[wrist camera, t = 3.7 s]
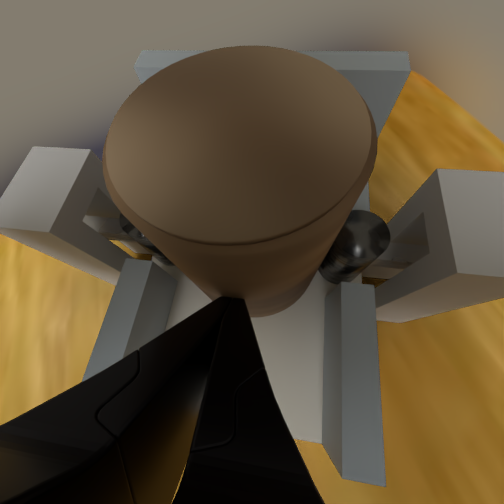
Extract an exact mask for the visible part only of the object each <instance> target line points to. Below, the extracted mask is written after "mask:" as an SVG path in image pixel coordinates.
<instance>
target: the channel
mask: <svg viewBox="0 0 504 504" xmlns="http://www.w3.org/2000/svg"><path fill="white" fill-rule="evenodd" d="M202 52H206V51H162V50H158V51H156V50H155V51H154V50H152V51H151V50H148V51H147V50H142V52H141V54H140V56H139V58H138V59H137V61H136V64H135V65H134V69H135V71H136V73H137V76H138V78H139V80H140V82H141V84H142V83H143V82H145V81H146V80H147V79H148V78H150V77H151V76H153V75H154V74H156V73H157V72H159V71H160V70H162V69H164V68H166V67H167V66H169V65H171V64H173V63H175V62H178V61H180V60H182V59H184V58H187V57H190V56H193V55H196V54H199V53H202ZM296 52H299V53H302V54H305V55H308V56H311V57H313V58H315V59H318V60H320V61H322V62H324V63H325V64H327V65H329V66H330V67H332V68H334V69H335V70H336V71H338V72H339V73H340V74H342V75H343V76H344V77H345V78H346V79H347V80H348V81H349V82H350V83H351V84H352V85H353V86H354V88H355V89H356V90H357V91H358V92H359V94H360V95H361V96H362V98H363V99H364V100H365V102H366V104H367V106H368V108H369V109H370V111H371V113H372V116H373V119H374V122H375V125H376V132H377V138H378V136H379V134H380V132H381V130H382V128H383V126H384V124H385V122H386V120H387V118H388V116H389V114H390V112H391V110H392V108H393V106H394V104H395V102H396V100H397V98H398V96H399V94H400V92H401V90H402V88H403V86H404V84H405V82H406V80H407V78H408V76H409V74H410V72H411V68H410V62H409V57H408V52H395V51H393V52H391V51H385V52H384V51H378V52H377V51H296ZM352 210H365V211H369V212H370V203H369V186H368V182H367V184H366V186H365V188H364V189H363V191H362V193H361V195H360V196H359V198H358V200H357V202H356V203H355V205H354V207H353V209H352ZM120 213H121V212H120V210H119V209H118V208H117V206H116V205H115V203H114V202H113V200H112V198H111V196H110V194H109V192H108V190H107V187H106V183H105V179H104V176H103V165H102V162H101V161H100V159H99V158H98V157H97V156H96V155H95V154H94V153H93V151H92V150H90V149H89V150H88V149H72V148H54V147H35V146H34V147H33V148H32V149H31V151H30V152H29V154H28V156H27V157H26V159H25V160H24V162H23V164H22V165H21V167H20V168H19V170H18V172H17V173H16V175H15V176H14V178H13V180H12V181H11V183H10V184H9V186H8V187H7V189H6V190H5V192H4V194H3V195H2V197H1V198H0V234H3V235H5V236H7V237H9V238H11V239H14V240H16V241H18V242H20V243H22V244H25V245H27V246H29V247H31V248H34V249H36V250H38V251H40V252H42V253H45V254H47V255H49V256H51V257H53V258H56V259H58V260H60V261H62V262H64V263H67V264H69V265H71V266H73V267H75V268H78V269H80V270H82V271H84V272H87V273H89V274H91V275H93V276H95V277H98V278H100V279H102V280H104V281H106V282H109V283H111V284H113V285H115V286H116V287H115V290H114V293H113V296H112V298H111V301H110V304H109V307H108V310H107V312H106V315H105V318H104V321H103V324H102V326H101V329H100V332H99V335H98V338H97V340H96V343H95V346H94V349H93V352H92V354H91V357H90V360H89V363H88V365H87V368H86V371H85V374H84V377H83V379H82V382H83V381H85V380H87V379H88V378H90V377H92V376H94V375H95V374H97V373H99V372H101V371H103V370H104V369H106V368H108V367H109V366H111V365H113V364H114V363H116V362H118V361H119V360H121V359H122V358H124V357H126V356H127V355H129V354H130V353H132V352H134V351H135V350H137V349H138V350H139V348H140V347H142V346H143V345H145V344H146V343H148V342H149V341H151V340H153V339H154V338H156V337H157V336H159V335H160V334H162V333H163V332H165V331H167V330H168V329H170V328H171V327H173V326H174V325H176V324H178V323H179V322H181V321H182V320H184V319H185V318H187V317H189V316H190V315H192V314H193V313H195V312H196V311H198V310H200V309H201V308H203V307H204V306H206V305H207V304H209V303H211V302H212V300H211V299H210V298H209V297H208V296H207V295H206V294H205V293H204V292H203V291H202V290H201V289H199V288H198V287H197V286H196V285H195V284H194V283H193V282H192V281H191V280H190V279H189V278H188V277H187V276H186V275H185V274H184V273H183V272H182V271H181V270H180V269H179V268H178V267H177V266H167V265H164V264H162V263H161V262H160V261H158V260H157V259H156V258H155V257H154V256H152V259H151V261H148V260H138V259H134V258H133V257H132V256H130V255H129V254H127V253H126V252H125V251H123V250H122V249H120V248H119V247H118V246H116V245H115V244H113V243H112V242H111V241H109V240H108V239H106V238H105V237H104V236H102V235H101V234H99V233H98V232H97V231H95V230H94V229H92V228H91V227H90V226H88V225H87V224H86V223H84V222H83V219H84V217H85V215H87V216H98V217H110V218H120ZM387 226H388V228H389V231H390V242H391V243H402V244H413V245H425V246H429V251H430V253H429V254H428V255H426V256H425V257H423V258H422V259H420V260H418V261H417V262H415V263H414V264H412V265H411V266H409V267H407V268H406V269H397V268H387V267H377V266H368V267H367V268H366V269H365V270H364V271H363V272H361V273H360V274H359V275H358V276H357V277H356V278H355V279H354V280H352V281H351V282H340V283H339V284H333V283H331V282H329V281H327V280H326V279H324V278H323V277H322V276H321V274H320V273H319V271H318V270H317V272H316V274H315V276H314V277H313V279H312V281H311V283H310V285H309V286H308V288H307V289H306V291H305V293H304V294H303V295H302V296H301V297H300V299H298V300H297V301H296V302H295V303H294V304H293V305H291V306H290V307H288V308H287V309H285V310H283V311H281V312H279V313H276V314H273V315H270V316H265V317H250V318H251V321H252V325H253V328H254V331H255V335H256V338H257V341H258V345H259V348H260V351H261V355H262V358H263V362H264V365H265V369H266V371H267V374H268V378H269V381H270V384H271V387H272V390H273V393H274V395H275V398H276V401H277V403H278V405H279V408H280V410H281V413H282V415H283V417H284V420H285V422H286V424H287V426H288V428H289V430H290V433H291V435H292V437H293V439H298V440H304V441H309V442H315V443H320V444H322V445H323V447H324V448H325V450H326V452H327V453H328V455H329V457H330V459H331V460H332V462H333V464H334V465H335V467H336V469H337V470H338V472H339V474H340V475H341V477H342V479H347V480H352V481H357V482H362V483H367V484H372V485H378V486H383V487H386V477H385V460H384V442H383V425H382V408H381V391H380V374H379V357H378V340H377V323H376V320H379V321H387V322H395V323H403V322H407V321H411V320H415V319H419V318H423V317H427V316H431V315H435V314H439V313H443V312H447V311H451V310H455V309H459V308H463V307H467V306H471V305H476V304H480V303H484V302H488V301H492V300H496V299H500V298H504V172H490V171H472V170H454V169H436V170H435V171H434V172H433V174H432V175H431V176H430V177H429V178H428V179H427V180H426V181H425V182H424V184H423V185H422V186H421V187H420V188H419V189H418V190H417V191H416V193H415V194H414V195H413V196H412V197H411V198H410V199H409V200H408V201H407V203H406V204H405V205H404V206H403V207H402V208H401V209H400V210H399V211H398V213H397V214H396V215H395V216H394V217H393V218H392V219H391V220H390V222H389V223H388V224H387ZM120 242H121V243H123V244H124V245H125V246H127V247H128V248H129V249H131V250H132V251H133V252H134V253H143V254H150V253H149V252H148V251H147V250H145V249H144V248H143V247H142V246H141V245H140V244H138V243H137V242H128V241H120ZM362 277H371V278H381V279H389V280H387V281H385V282H384V283H382V284H381V285H379V286H378V287H376V288H374V285H369V284H362Z"/></svg>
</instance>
